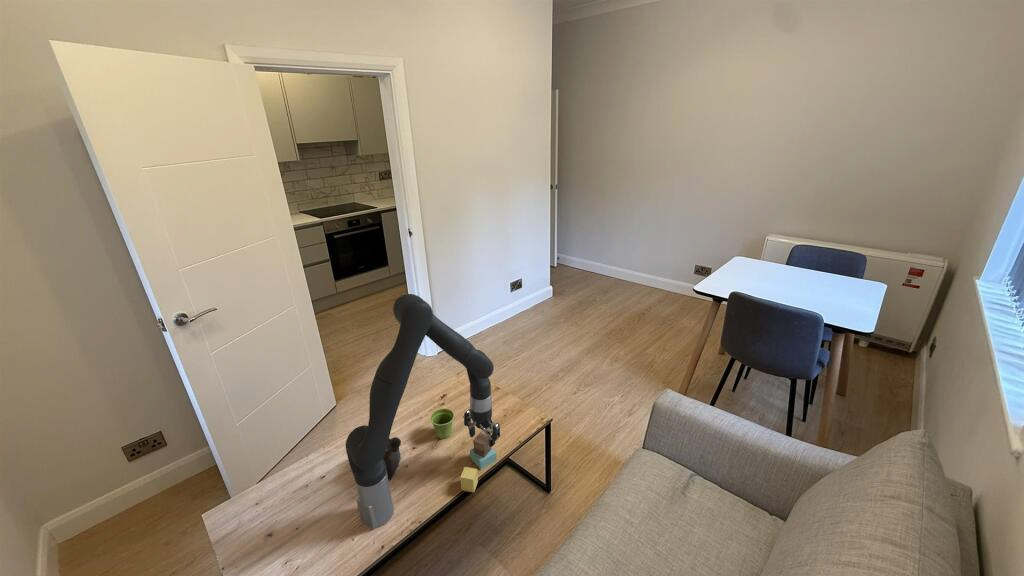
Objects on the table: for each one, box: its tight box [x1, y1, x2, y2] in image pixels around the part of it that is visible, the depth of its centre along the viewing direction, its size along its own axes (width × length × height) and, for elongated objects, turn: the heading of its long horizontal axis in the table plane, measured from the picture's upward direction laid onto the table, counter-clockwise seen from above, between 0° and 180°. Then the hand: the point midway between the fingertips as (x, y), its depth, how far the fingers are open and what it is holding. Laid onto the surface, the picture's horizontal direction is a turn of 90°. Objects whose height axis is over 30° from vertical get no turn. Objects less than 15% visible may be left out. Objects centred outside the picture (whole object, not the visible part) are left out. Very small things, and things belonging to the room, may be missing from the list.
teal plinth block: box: [469, 447, 497, 470], centre depth 151 cm, size 7×7×4 cm
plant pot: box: [429, 407, 455, 439], centre depth 162 cm, size 9×9×9 cm
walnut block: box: [472, 432, 492, 458], centre depth 149 cm, size 4×4×6 cm
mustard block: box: [460, 466, 479, 493], centre depth 139 cm, size 4×4×6 cm
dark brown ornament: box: [383, 436, 402, 481], centre depth 144 cm, size 16×11×18 cm
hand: (482, 440), depth 148 cm, fingers open, 8 cm apart
